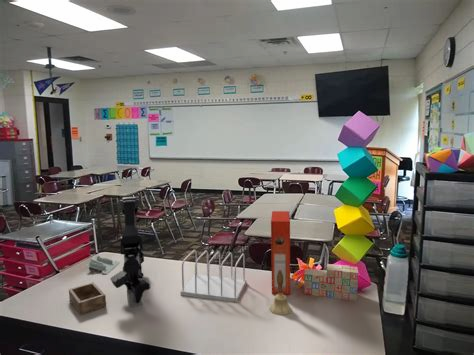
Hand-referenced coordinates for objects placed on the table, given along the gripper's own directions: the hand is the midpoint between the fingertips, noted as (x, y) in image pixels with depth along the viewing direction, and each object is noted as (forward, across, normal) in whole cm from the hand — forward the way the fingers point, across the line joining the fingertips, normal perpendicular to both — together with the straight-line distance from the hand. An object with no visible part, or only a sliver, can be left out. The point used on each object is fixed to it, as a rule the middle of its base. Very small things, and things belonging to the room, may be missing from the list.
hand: (134, 300), depth 141 cm
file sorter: (+2, +12, +32) cm, 34 cm away
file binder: (+2, +29, +56) cm, 63 cm away
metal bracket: (+1, -45, +2) cm, 45 cm away
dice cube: (+1, 0, 0) cm, 1 cm away
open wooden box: (+1, -12, -15) cm, 19 cm away
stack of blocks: (+2, +48, +66) cm, 82 cm away
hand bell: (+2, +43, +41) cm, 59 cm away
